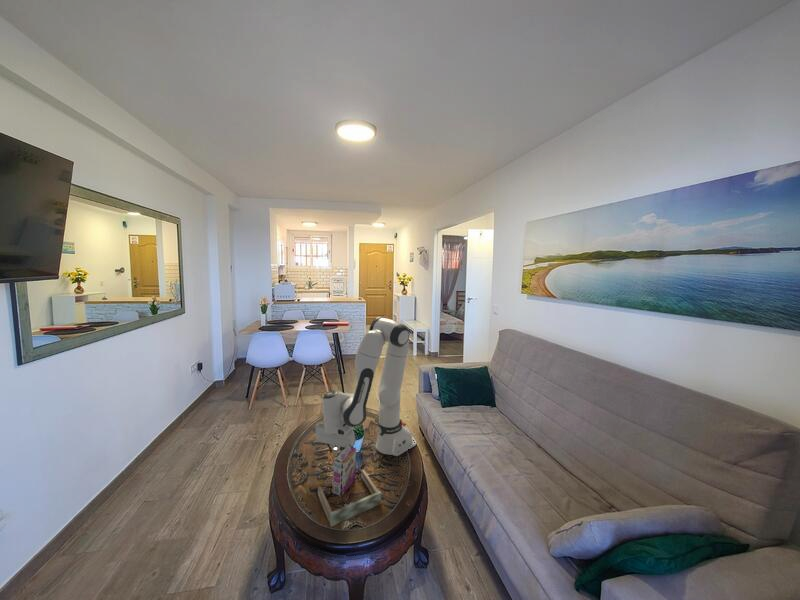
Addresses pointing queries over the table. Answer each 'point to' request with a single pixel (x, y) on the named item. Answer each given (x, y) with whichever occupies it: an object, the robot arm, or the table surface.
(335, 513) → the dock
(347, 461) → the candy bar box
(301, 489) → the table surface
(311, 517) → the table surface
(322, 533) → the table surface
